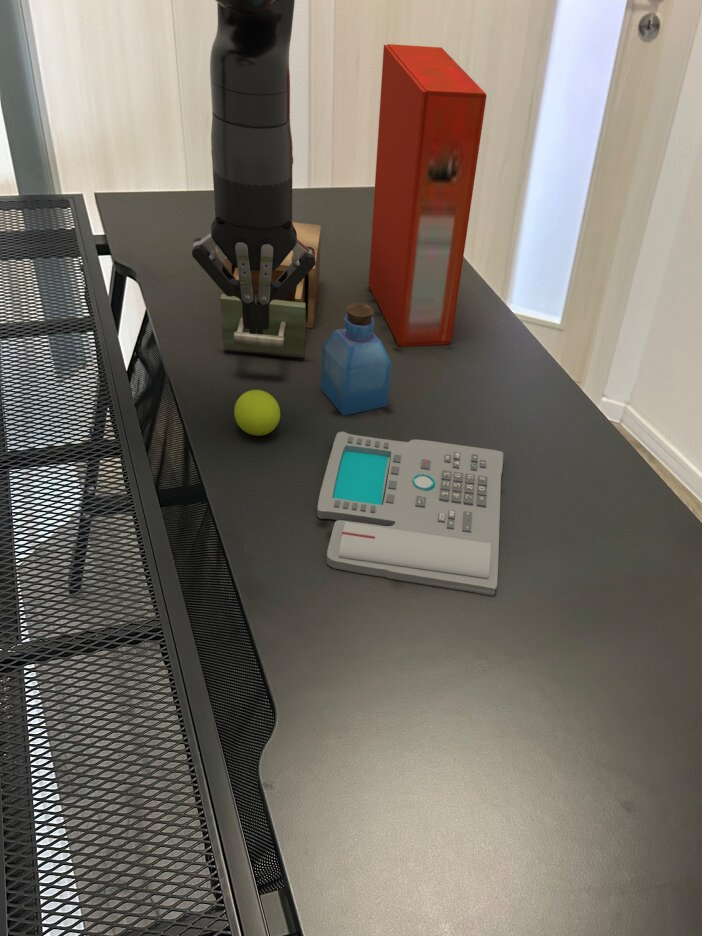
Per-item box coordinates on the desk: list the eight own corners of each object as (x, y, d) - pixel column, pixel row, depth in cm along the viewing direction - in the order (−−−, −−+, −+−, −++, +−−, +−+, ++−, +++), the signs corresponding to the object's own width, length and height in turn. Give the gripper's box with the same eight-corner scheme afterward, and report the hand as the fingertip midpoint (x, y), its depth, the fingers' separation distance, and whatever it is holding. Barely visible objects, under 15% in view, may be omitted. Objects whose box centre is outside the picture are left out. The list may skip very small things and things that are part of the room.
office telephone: (501, 579, 85) (302, 551, 84) (496, 597, 87) (302, 569, 86) (505, 442, 101) (338, 416, 100) (501, 459, 103) (337, 434, 102)
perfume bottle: (386, 406, 108) (396, 318, 99) (343, 415, 105) (348, 326, 96) (364, 380, 111) (371, 293, 103) (321, 389, 108) (324, 300, 100)
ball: (232, 442, 98) (230, 404, 95) (238, 416, 102) (236, 378, 98) (278, 446, 99) (277, 408, 95) (282, 420, 103) (282, 383, 99)
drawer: (301, 377, 108) (302, 328, 103) (217, 369, 107) (214, 319, 102) (310, 309, 120) (311, 262, 115) (235, 301, 119) (233, 253, 114)
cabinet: (313, 328, 118) (314, 268, 112) (227, 319, 117) (224, 258, 111) (319, 282, 128) (321, 225, 122) (240, 273, 126) (238, 215, 120)
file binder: (395, 346, 118) (422, 89, 95) (366, 286, 129) (383, 43, 106) (450, 344, 121) (489, 93, 98) (417, 285, 132) (445, 47, 109)
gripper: (177, 174, 78) (192, 345, 90) (323, 187, 80) (318, 352, 93) (183, 144, 83) (196, 310, 95) (320, 157, 85) (316, 317, 98)
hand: (256, 330), depth 94 cm, fingers closed
